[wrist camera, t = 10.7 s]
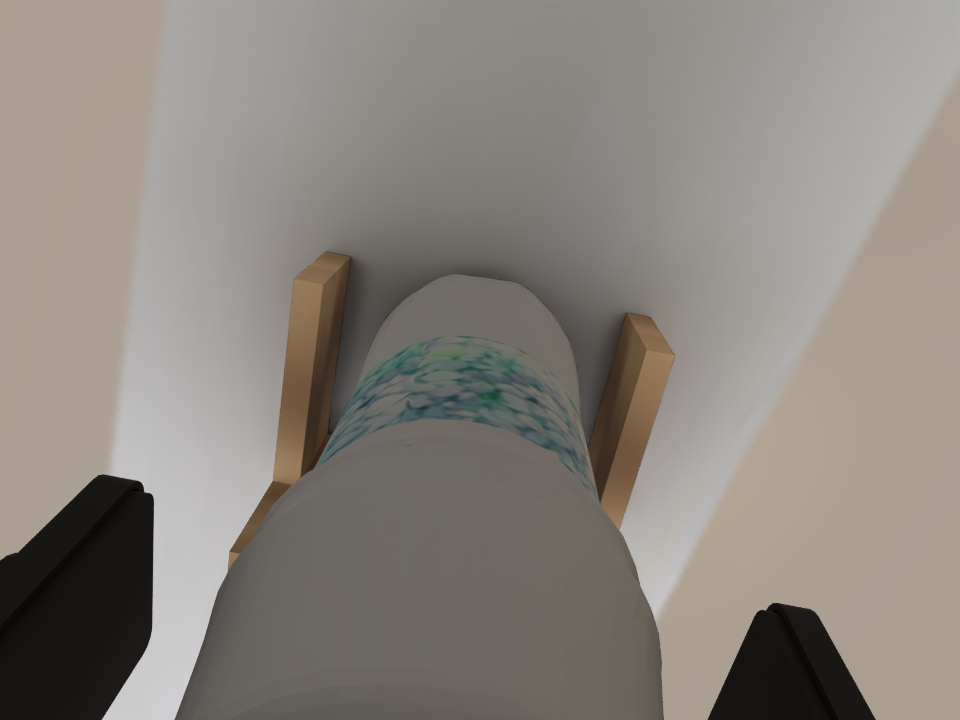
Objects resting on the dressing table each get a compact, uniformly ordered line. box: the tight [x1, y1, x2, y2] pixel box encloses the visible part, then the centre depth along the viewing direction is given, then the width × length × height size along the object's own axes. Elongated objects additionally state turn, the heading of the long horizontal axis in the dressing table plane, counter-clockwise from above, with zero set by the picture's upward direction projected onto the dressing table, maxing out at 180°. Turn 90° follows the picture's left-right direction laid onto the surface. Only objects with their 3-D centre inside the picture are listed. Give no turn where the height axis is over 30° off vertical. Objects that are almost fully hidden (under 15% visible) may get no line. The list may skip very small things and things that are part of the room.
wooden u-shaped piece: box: [228, 252, 675, 571], centre depth 20 cm, size 8×11×7 cm
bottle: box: [175, 274, 664, 720], centre depth 14 cm, size 7×7×20 cm
